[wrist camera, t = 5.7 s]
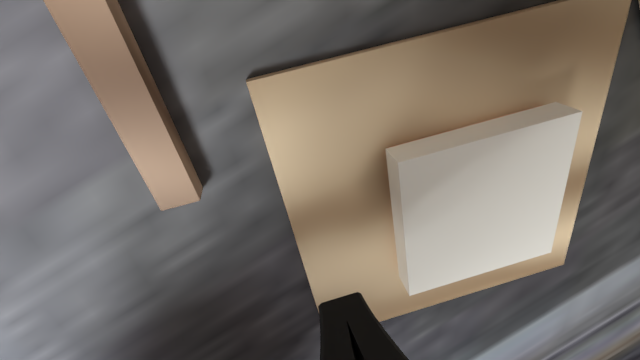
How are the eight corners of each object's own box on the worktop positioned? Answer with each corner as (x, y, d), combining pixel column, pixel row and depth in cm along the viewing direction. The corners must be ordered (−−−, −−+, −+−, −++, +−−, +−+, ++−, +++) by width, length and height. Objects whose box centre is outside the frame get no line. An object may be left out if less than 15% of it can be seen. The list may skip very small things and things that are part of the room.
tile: (395, 270, 16) (526, 231, 17) (409, 295, 15) (551, 252, 16) (381, 144, 13) (547, 98, 13) (398, 162, 12) (582, 111, 12)
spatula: (236, 177, 13) (235, 190, 12) (133, 205, 13) (124, 220, 12) (9, -409, 6) (-29, -472, 5) (-219, -374, 6) (-297, -436, 5)
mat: (558, 259, 19) (563, 264, 19) (325, 331, 18) (326, 338, 18) (624, -17, 12) (636, -17, 12) (246, 79, 11) (246, 82, 11)
